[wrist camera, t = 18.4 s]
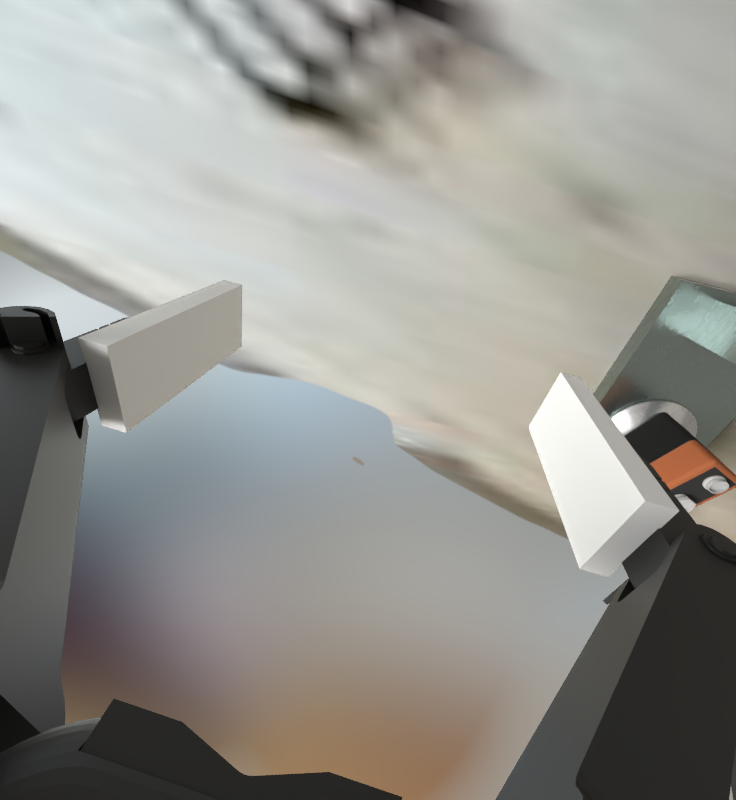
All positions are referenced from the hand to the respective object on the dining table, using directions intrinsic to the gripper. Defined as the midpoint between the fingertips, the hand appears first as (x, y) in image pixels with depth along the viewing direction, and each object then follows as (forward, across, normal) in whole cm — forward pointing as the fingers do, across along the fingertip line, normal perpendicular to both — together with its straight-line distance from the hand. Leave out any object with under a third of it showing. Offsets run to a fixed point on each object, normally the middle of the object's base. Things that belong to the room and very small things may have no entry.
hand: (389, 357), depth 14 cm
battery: (+26, +32, -13) cm, 43 cm away
